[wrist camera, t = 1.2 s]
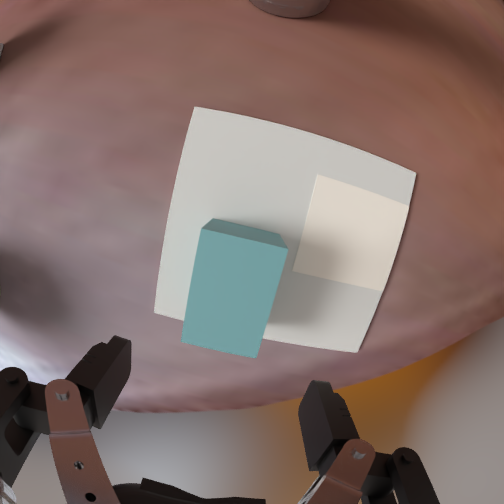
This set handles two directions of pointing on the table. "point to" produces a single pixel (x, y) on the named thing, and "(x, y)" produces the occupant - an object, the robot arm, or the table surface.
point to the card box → (232, 287)
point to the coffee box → (0, 47)
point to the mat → (290, 221)
